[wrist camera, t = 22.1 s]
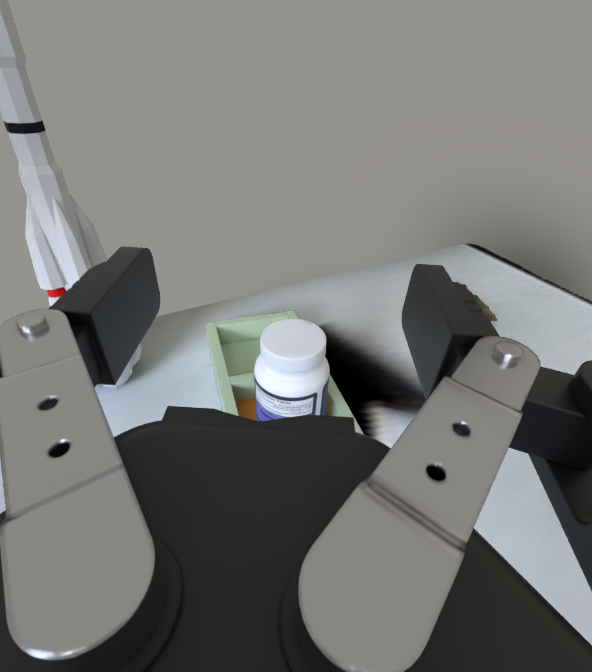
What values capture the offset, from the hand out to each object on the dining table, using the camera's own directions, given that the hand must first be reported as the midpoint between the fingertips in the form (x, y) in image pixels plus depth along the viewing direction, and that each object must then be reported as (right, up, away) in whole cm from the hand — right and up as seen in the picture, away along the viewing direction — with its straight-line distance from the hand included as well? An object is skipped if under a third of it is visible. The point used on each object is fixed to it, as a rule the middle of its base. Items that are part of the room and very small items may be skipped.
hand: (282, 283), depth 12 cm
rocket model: (-18, -6, +26) cm, 32 cm away
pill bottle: (0, -10, +21) cm, 23 cm away
